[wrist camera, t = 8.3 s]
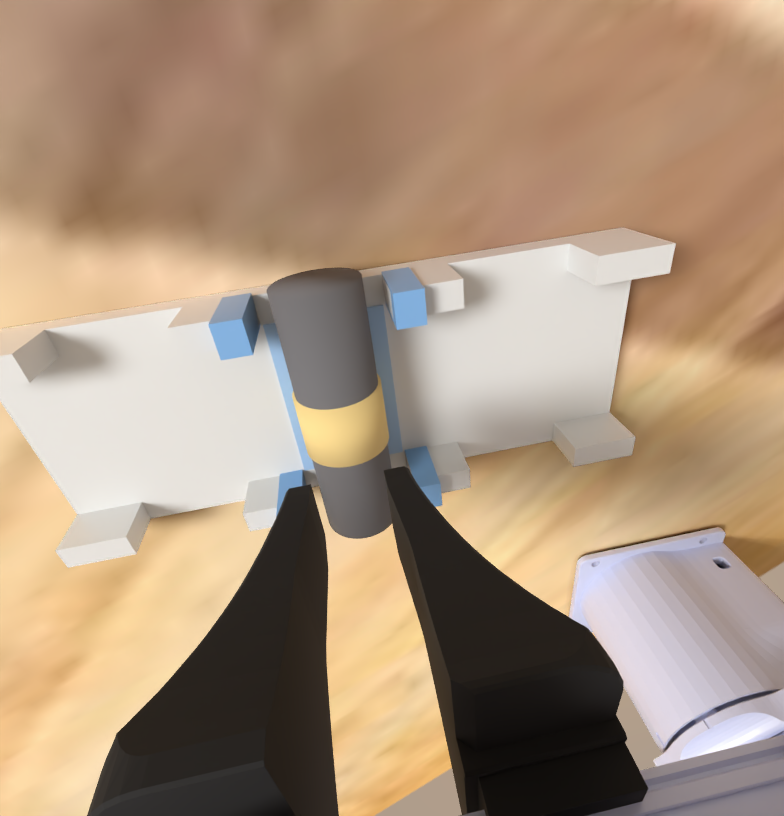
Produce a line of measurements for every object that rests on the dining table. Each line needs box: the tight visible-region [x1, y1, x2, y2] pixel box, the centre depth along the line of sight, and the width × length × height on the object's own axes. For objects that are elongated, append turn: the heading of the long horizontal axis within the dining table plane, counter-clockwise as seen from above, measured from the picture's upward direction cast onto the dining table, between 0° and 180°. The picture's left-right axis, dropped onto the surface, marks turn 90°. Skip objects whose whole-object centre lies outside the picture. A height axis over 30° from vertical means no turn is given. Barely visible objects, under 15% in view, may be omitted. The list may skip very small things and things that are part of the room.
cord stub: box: [267, 268, 392, 539], centre depth 17 cm, size 10×3×3 cm, turn 7°
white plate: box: [0, 227, 676, 568], centre depth 18 cm, size 24×9×4 cm, turn 97°
